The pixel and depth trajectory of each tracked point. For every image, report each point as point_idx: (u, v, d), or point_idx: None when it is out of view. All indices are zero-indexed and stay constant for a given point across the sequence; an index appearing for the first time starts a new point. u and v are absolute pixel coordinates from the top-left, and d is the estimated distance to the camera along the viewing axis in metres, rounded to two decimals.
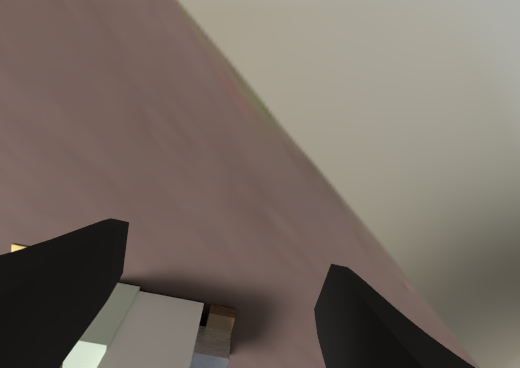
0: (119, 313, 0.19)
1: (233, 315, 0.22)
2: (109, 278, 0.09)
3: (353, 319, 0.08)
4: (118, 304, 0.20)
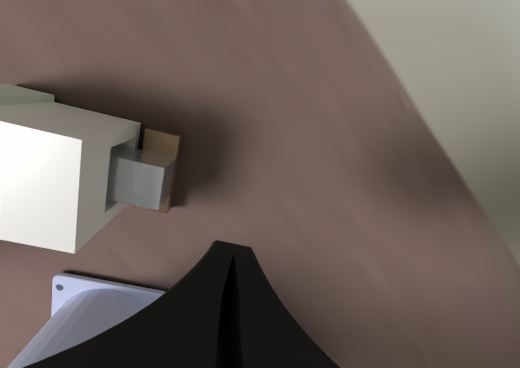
0: (9, 94, 0.14)
1: (178, 135, 0.17)
2: None
3: (230, 296, 0.08)
4: (13, 92, 0.15)
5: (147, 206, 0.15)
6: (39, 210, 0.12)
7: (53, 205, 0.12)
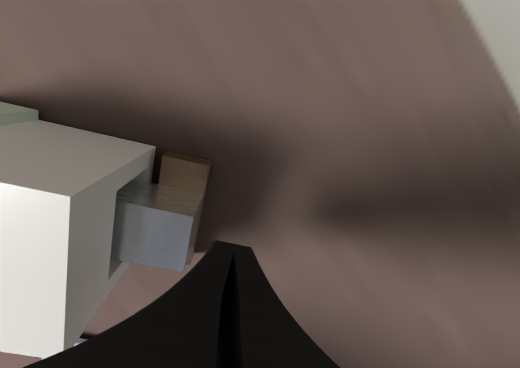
0: None
1: (206, 164, 0.13)
2: (221, 299, 0.09)
3: (230, 296, 0.08)
4: None
5: (168, 267, 0.11)
6: (5, 302, 0.08)
7: (27, 294, 0.08)
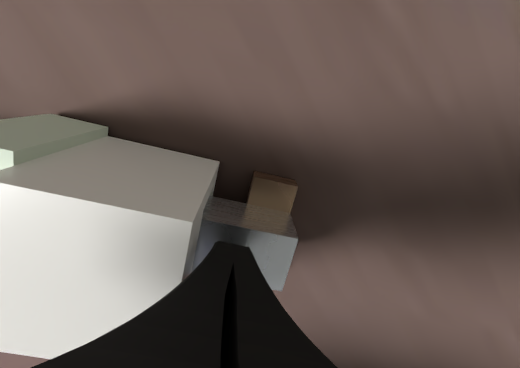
0: (58, 134, 0.10)
1: (294, 184, 0.13)
2: None
3: (228, 296, 0.08)
4: (61, 129, 0.10)
5: None
6: (117, 321, 0.08)
7: (139, 313, 0.08)
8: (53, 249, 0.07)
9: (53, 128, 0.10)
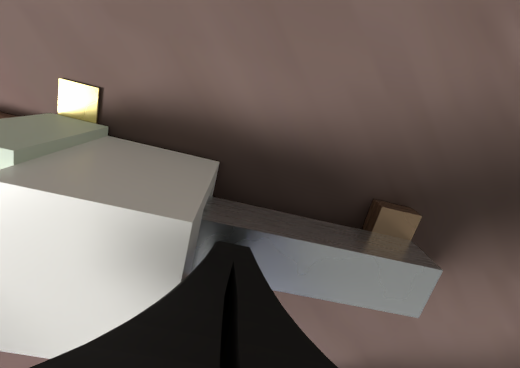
0: (58, 134, 0.10)
1: (416, 213, 0.14)
2: None
3: (229, 296, 0.08)
4: (61, 128, 0.10)
5: (406, 314, 0.12)
6: (116, 321, 0.08)
7: (138, 313, 0.08)
8: (53, 248, 0.07)
9: (53, 127, 0.10)
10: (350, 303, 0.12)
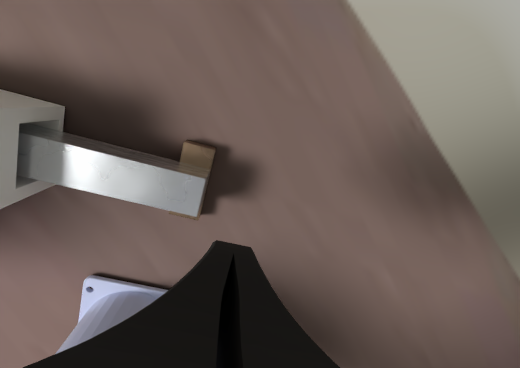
0: None
1: (213, 149, 0.19)
2: (221, 299, 0.09)
3: (230, 296, 0.08)
4: None
5: (187, 213, 0.17)
6: None
7: None
8: None
9: None
10: (144, 203, 0.17)
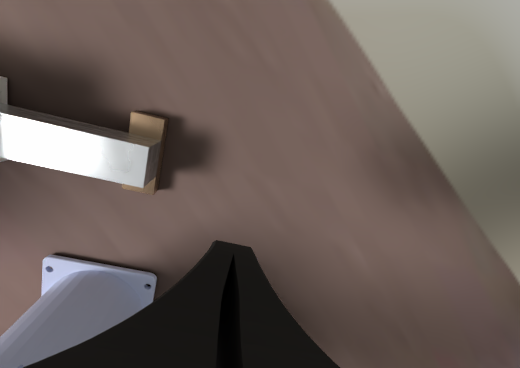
0: None
1: (163, 119, 0.18)
2: (221, 299, 0.09)
3: (230, 296, 0.08)
4: None
5: (132, 184, 0.16)
6: None
7: None
8: None
9: None
10: (87, 174, 0.16)
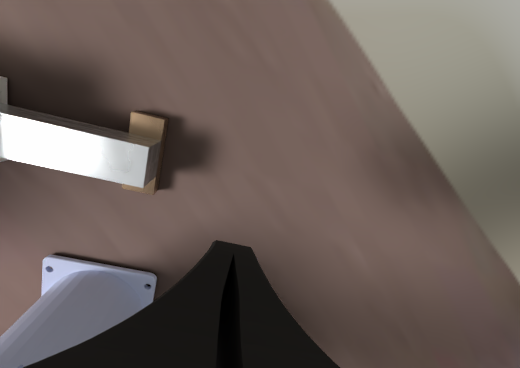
0: None
1: (163, 119, 0.18)
2: (221, 299, 0.09)
3: (230, 296, 0.08)
4: None
5: (132, 184, 0.16)
6: None
7: None
8: None
9: None
10: (87, 174, 0.16)
